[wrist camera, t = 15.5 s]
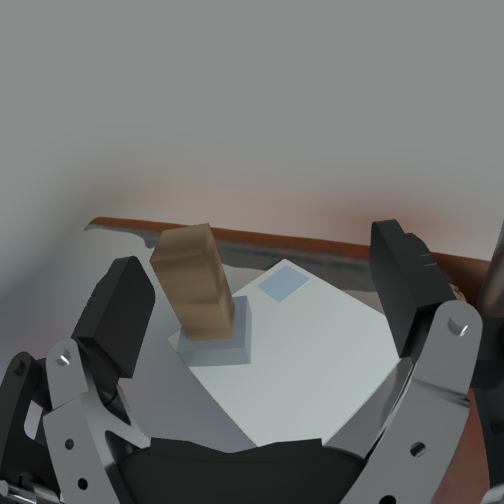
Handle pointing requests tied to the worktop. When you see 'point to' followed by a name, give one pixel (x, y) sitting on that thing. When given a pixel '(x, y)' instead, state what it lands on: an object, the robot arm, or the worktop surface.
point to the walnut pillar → (195, 282)
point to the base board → (293, 357)
